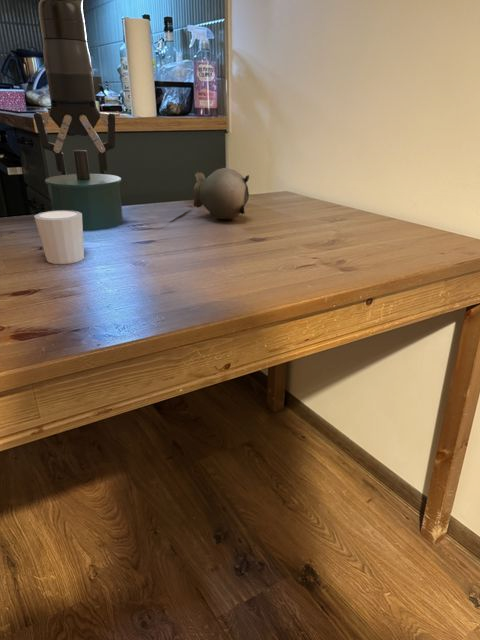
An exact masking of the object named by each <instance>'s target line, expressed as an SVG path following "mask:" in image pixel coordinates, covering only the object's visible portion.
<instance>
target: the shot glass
mask: <svg viewBox="0 0 480 640" xmlns="http://www.w3.org/2000/svg"><path fill="white" fill-rule="evenodd" d="M33 217H34V221H35V225H36V227H37V231H38V235H39V238H40V242H41V245H42V248H43V252H44V255H45V259H46V262H47V263H48V264H49V263H50V264H54V265H69V264H76V263H78V262H81V261H83V260H84V259H85V246H84V231H83V225H82V213H80V212H77V211H68V210H58V211H52V210H48V211H43V212H39V213H37V214H35V215H34V216H33Z"/></svg>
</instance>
